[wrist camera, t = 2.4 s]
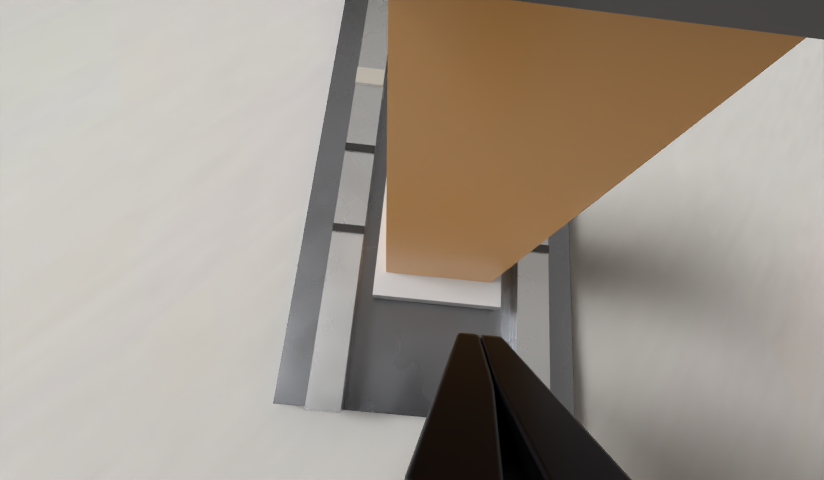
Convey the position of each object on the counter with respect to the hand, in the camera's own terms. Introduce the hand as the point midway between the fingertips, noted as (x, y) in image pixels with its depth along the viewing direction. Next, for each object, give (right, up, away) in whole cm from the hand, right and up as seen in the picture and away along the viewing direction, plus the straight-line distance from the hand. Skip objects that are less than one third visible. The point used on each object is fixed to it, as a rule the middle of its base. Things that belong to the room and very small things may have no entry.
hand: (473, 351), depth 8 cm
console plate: (0, +5, +11) cm, 12 cm away
